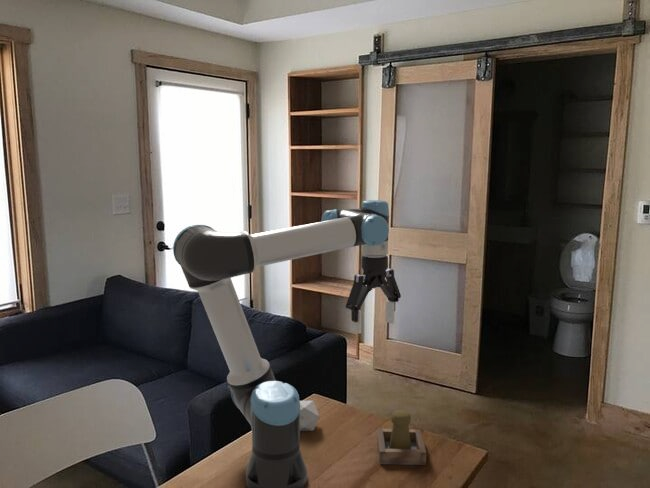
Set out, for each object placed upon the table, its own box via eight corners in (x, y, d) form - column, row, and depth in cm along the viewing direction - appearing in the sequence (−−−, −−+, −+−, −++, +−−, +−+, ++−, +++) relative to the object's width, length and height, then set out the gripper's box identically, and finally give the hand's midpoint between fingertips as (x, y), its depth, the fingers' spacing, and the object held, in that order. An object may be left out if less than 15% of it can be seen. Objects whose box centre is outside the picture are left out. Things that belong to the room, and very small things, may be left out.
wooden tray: (379, 464, 140) (379, 451, 140) (377, 440, 152) (377, 428, 152) (425, 465, 140) (426, 452, 139) (419, 441, 152) (420, 429, 151)
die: (284, 427, 161) (283, 411, 154) (302, 404, 166) (301, 388, 159) (307, 443, 158) (307, 428, 150) (324, 419, 163) (325, 403, 156)
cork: (411, 457, 142) (412, 418, 141) (388, 455, 144) (389, 416, 142) (411, 445, 148) (412, 408, 147) (389, 443, 149) (390, 406, 148)
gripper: (352, 262, 141) (351, 340, 145) (413, 251, 157) (412, 321, 161) (333, 258, 147) (333, 333, 150) (394, 248, 163) (393, 316, 166)
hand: (373, 327), depth 156 cm, fingers open, 13 cm apart
